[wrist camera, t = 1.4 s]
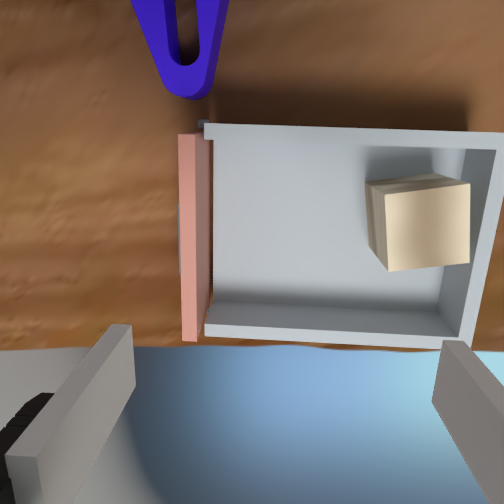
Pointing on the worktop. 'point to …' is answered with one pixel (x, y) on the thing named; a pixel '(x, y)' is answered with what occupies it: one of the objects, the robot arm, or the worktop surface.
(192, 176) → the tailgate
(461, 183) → the beige block
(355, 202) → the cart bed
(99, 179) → the worktop surface
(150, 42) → the bracket
